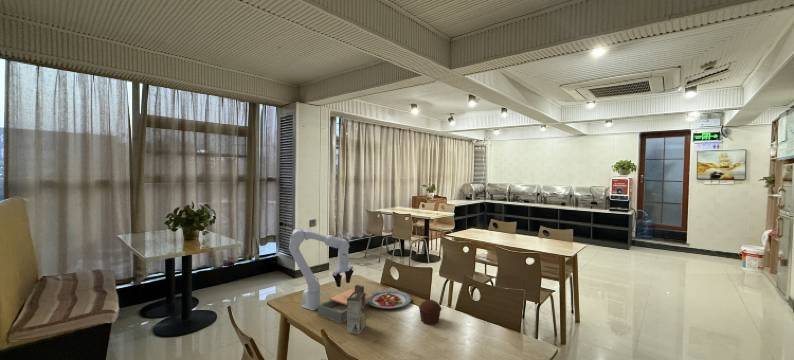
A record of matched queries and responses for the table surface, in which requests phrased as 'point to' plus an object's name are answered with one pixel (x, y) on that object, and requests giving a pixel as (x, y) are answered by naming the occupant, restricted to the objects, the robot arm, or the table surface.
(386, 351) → the table surface
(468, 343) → the table surface
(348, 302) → the coffee box
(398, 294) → the ceramic plate
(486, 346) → the table surface
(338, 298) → the lid
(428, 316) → the muffin
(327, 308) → the box
